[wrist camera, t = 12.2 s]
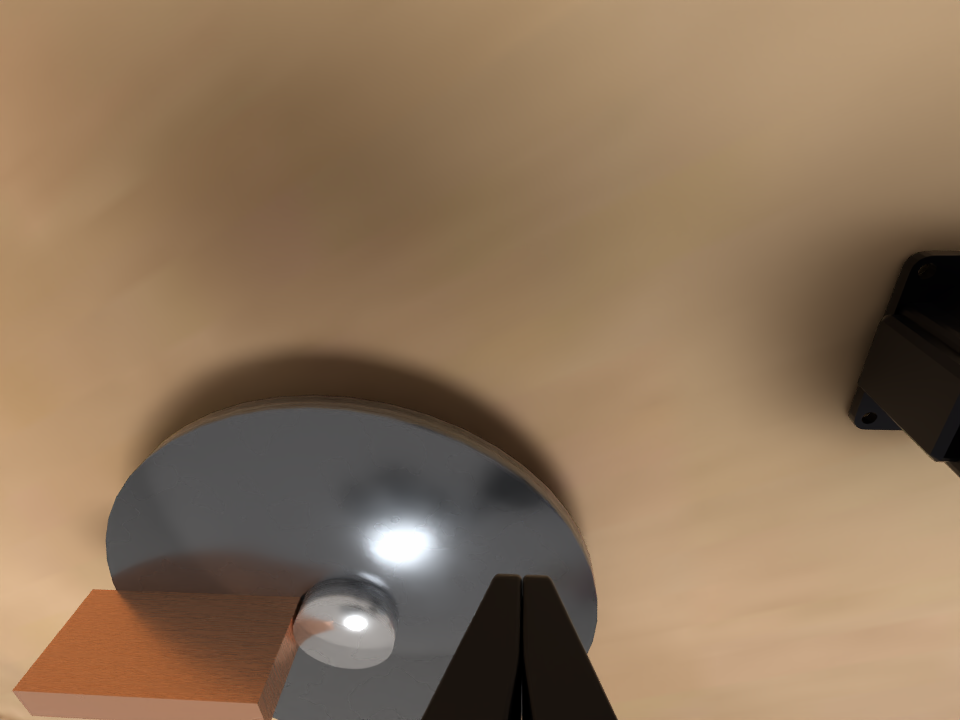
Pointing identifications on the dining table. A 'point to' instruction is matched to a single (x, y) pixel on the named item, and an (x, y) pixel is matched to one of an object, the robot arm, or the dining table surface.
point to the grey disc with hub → (303, 568)
